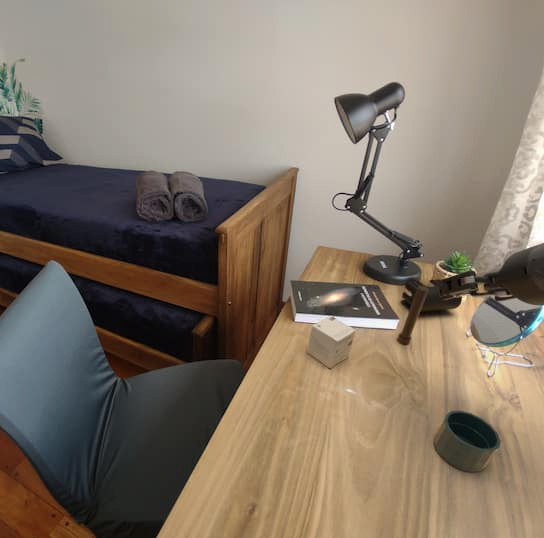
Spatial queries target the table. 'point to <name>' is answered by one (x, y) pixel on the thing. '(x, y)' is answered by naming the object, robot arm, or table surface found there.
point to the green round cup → (466, 441)
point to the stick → (412, 315)
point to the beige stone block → (330, 341)
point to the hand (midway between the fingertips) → (468, 294)
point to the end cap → (429, 297)
